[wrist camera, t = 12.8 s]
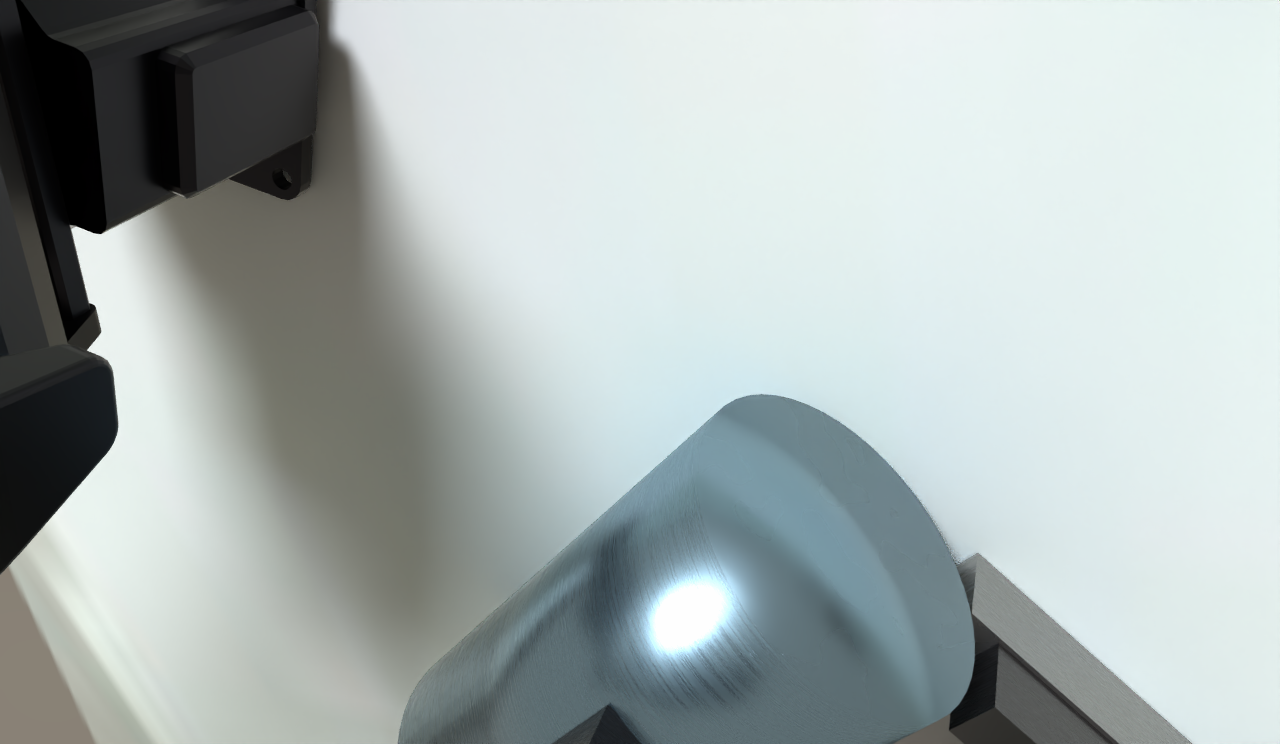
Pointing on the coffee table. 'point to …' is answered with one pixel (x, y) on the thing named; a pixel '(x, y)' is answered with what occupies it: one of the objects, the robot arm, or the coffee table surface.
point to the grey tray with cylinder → (772, 618)
